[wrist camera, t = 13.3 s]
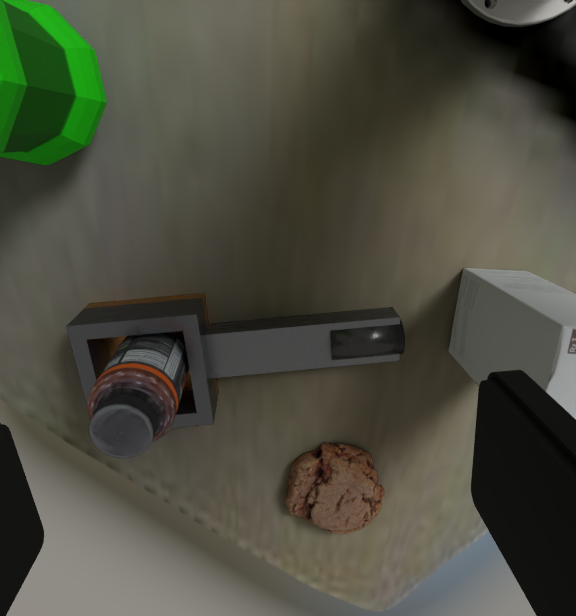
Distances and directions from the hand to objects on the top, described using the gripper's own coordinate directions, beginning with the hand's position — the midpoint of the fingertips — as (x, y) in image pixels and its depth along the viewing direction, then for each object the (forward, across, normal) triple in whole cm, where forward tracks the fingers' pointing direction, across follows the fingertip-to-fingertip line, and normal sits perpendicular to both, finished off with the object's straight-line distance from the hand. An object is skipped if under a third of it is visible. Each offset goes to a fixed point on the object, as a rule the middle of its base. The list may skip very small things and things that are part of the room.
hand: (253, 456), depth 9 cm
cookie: (+30, -5, +28) cm, 41 cm away
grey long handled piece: (+30, +2, +11) cm, 32 cm away
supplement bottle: (+29, +10, +11) cm, 32 cm away
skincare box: (+30, -19, +10) cm, 37 cm away
